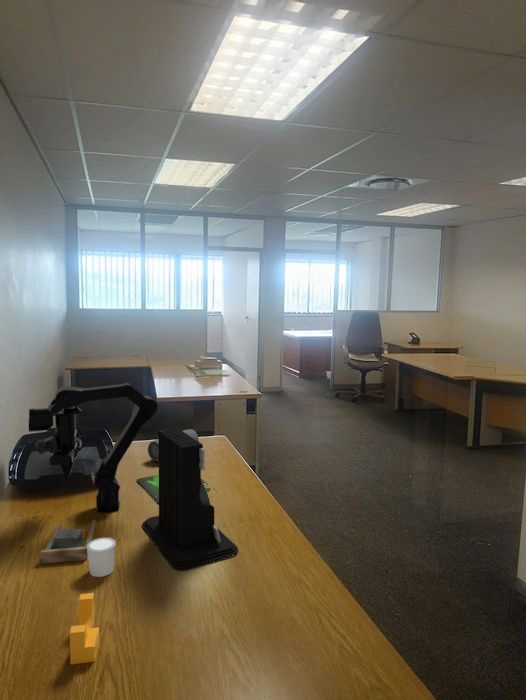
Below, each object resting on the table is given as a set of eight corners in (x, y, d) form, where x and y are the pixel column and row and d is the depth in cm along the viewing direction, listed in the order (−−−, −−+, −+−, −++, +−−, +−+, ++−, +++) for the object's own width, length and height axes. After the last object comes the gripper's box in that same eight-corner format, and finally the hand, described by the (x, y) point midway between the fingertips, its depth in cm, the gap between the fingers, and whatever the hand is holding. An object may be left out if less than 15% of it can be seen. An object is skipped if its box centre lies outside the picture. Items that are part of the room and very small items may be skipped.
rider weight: (82, 542, 135) (82, 529, 134) (76, 552, 130) (76, 538, 129) (60, 543, 135) (60, 529, 134) (54, 552, 130) (53, 538, 129)
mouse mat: (221, 495, 170) (221, 492, 169) (161, 508, 158) (161, 505, 158) (189, 470, 192) (189, 468, 192) (134, 481, 181) (134, 478, 180)
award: (242, 554, 130) (243, 446, 127) (176, 573, 121) (176, 457, 117) (197, 510, 156) (197, 419, 153) (139, 523, 147) (138, 427, 143)
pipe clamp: (94, 662, 91) (94, 630, 91) (70, 665, 90) (69, 633, 90) (102, 620, 103) (102, 592, 102) (81, 622, 102) (80, 594, 101)
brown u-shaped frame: (96, 524, 145) (96, 515, 145) (86, 559, 126) (86, 548, 126) (56, 527, 143) (56, 517, 143) (40, 563, 124) (40, 552, 123)
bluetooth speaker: (163, 466, 196) (162, 442, 195) (146, 461, 201) (146, 438, 200) (199, 451, 215) (199, 429, 214) (184, 448, 220) (184, 426, 219)
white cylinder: (121, 566, 123) (121, 539, 123) (104, 580, 117) (104, 553, 116) (99, 560, 126) (98, 535, 125) (81, 574, 119) (80, 547, 118)
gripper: (44, 421, 156) (46, 468, 158) (29, 438, 138) (31, 491, 139) (81, 420, 158) (82, 466, 160) (70, 436, 140) (72, 488, 142)
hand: (66, 477), depth 150 cm, fingers closed
